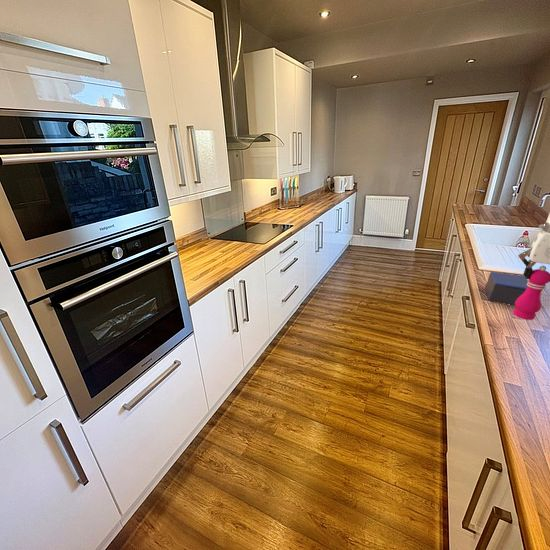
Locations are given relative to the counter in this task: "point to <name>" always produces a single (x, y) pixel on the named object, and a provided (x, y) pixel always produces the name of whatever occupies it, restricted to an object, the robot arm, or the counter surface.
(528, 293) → the pepper mill
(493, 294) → the storage box
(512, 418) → the counter surface
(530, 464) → the counter surface
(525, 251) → the robot arm
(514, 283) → the lid
